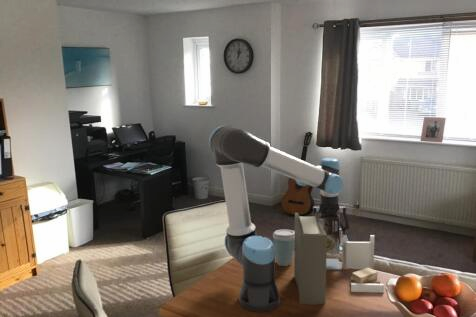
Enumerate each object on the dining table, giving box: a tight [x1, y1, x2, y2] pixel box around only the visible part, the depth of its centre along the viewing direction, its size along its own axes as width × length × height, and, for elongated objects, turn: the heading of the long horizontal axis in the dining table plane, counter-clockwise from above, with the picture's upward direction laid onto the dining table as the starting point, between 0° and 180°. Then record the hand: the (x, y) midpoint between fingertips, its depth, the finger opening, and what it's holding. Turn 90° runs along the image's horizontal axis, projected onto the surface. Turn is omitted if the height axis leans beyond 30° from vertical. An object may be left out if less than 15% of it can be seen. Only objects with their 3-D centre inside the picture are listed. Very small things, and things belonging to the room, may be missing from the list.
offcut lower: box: [349, 277, 381, 285], centre depth 162 cm, size 10×5×3 cm, turn 97°
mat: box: [326, 258, 342, 271], centre depth 181 cm, size 10×10×1 cm
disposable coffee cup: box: [272, 228, 295, 267], centre depth 182 cm, size 11×11×15 cm
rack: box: [341, 234, 385, 293], centre depth 166 cm, size 13×20×15 cm, turn 175°
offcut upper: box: [351, 267, 379, 283], centre depth 162 cm, size 9×5×3 cm, turn 119°
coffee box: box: [318, 212, 341, 255], centre depth 178 cm, size 9×6×16 cm
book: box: [293, 212, 328, 305], centre depth 158 cm, size 22×9×28 cm, turn 178°
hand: (328, 244), depth 179 cm, fingers closed on coffee box, 9 cm apart
